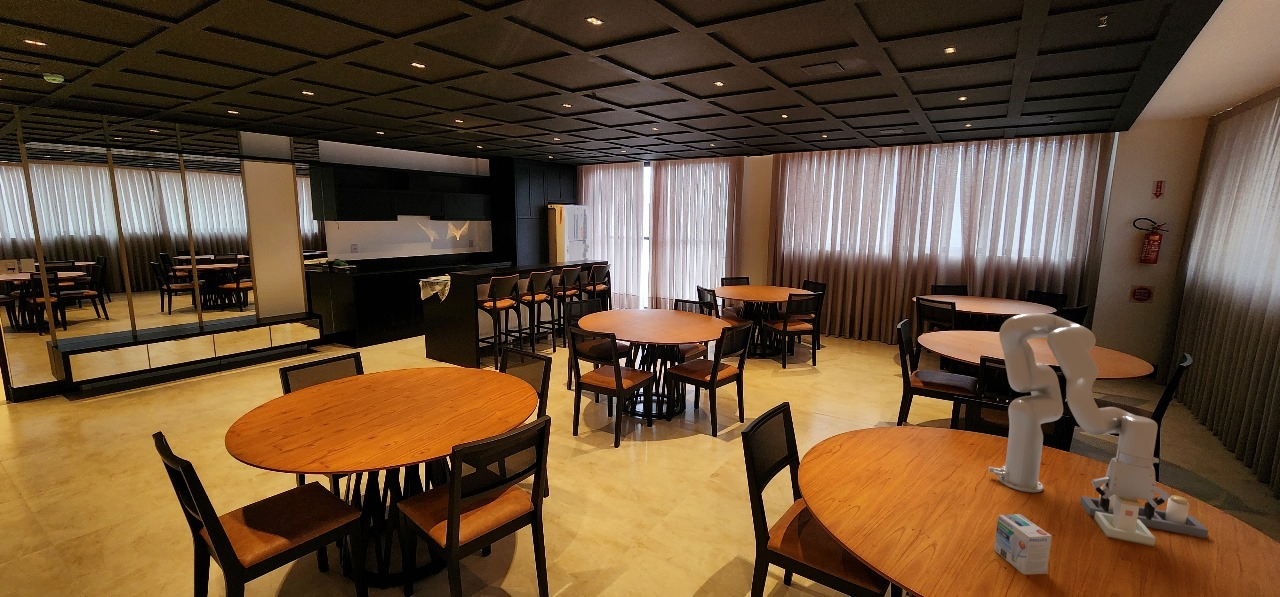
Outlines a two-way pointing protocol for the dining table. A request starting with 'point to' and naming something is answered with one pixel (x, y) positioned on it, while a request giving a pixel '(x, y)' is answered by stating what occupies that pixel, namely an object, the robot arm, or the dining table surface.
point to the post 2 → (1177, 509)
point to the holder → (1153, 519)
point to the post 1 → (1111, 498)
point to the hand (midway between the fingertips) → (1125, 513)
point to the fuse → (1125, 513)
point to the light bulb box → (1022, 544)
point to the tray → (1138, 536)
